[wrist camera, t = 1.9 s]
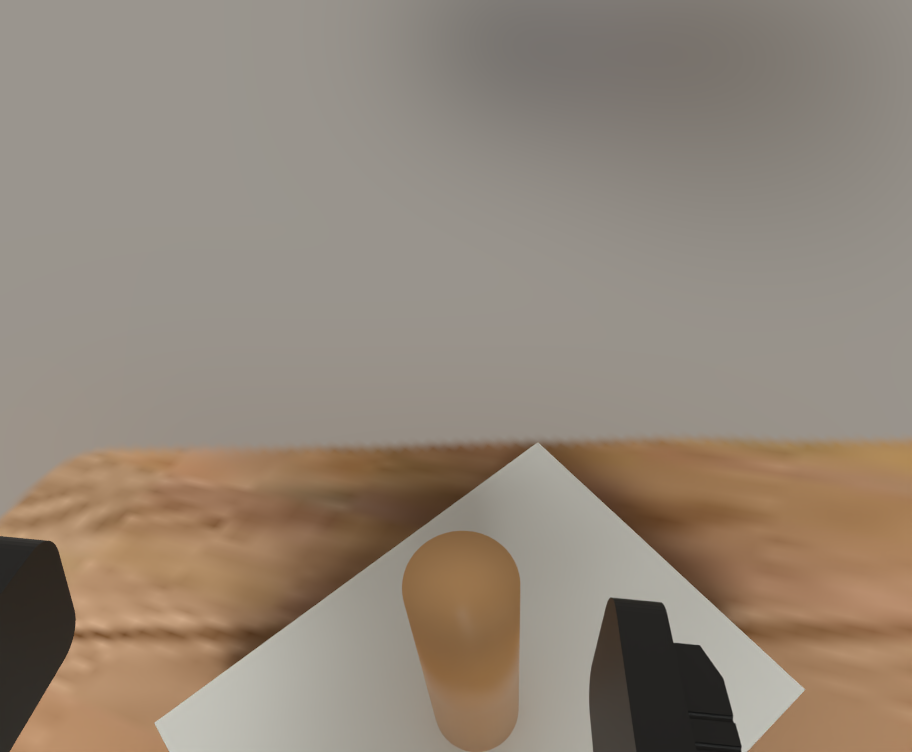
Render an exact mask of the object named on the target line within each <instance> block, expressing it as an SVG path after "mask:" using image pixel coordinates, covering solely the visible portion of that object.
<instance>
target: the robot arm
mask: <svg viewBox="0 0 912 752" xmlns="http://www.w3.org/2000/svg"><path fill="white" fill-rule="evenodd" d="M75 620H76V619H75V611H74V607H73V603H72V599H71V596H70V592H69V588H68V585H67V581H66V577H65V574H64V570H63V566H62V563H61V559H60V555H59V552H58V549H57V547H56V545H55V544H54V543H53V542H51V541H44V540H34V539H23V538H13V537H3V536H0V752H10V750H11V748H12V747H13V745H14V743H15V741H16V740H17V738H18V736H19V735H20V733H21V731H22V730H23V728H24V726H25V725H26V723H27V721H28V720H29V718H30V716H31V715H32V713H33V711H34V709H35V708H36V706H37V704H38V703H39V701H40V699H41V698H42V696H43V694H44V693H45V691H46V689H47V688H48V686H49V684H50V683H51V681H52V679H53V678H54V676H55V674H56V672H57V671H58V669H59V667H60V666H61V664H62V662H63V661H64V659H65V657H66V655H67V653H68V651H69V649H70V646H71V643H72V640H73V636H74V631H75ZM589 711H590V722H591V733H592V744H593V752H741V747H742V745H741V742H740V738H739V734H738V730H737V727H736V723H734V722H733V712H732V708H731V705H730V701H729V697H728V693H727V690H726V686H725V682H724V679H723V677H722V676H721V674H720V673H719V671H718V670H717V669H716V667H715V666H714V664H713V663H712V662H711V660H710V659H709V657H708V656H707V655H706V653H705V652H704V650H703V649H702V647H701V646H700V645H693V644H683V643H673V638H672V634H671V629H670V624H669V620H668V615H667V611H666V608H665V606H664V604H663V603H662V602H653V601H643V600H632V599H622V598H612V597H610V598H609V600H608V602H607V605H606V608H605V612H604V617H603V621H602V625H601V629H600V633H599V637H598V641H597V645H596V649H595V653H594V658H593V662H592V666H591V672H590V683H589Z"/></svg>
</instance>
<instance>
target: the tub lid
mask: <svg viewBox="0 0 912 752" xmlns="http://www.w3.org/2000/svg"><path fill="white" fill-rule="evenodd" d="M610 597H612V598H622V599H632V600H643V601H653V602H662V603H663V604H664V606H665V608H666V611H667V615H668V620H669V624H670V629H671V634H672V638H673V643H683V644H693V645H700V646H701V647H702V649H703V650H704V652H705V653H706V655H707V656H708V657H709V659H710V660H711V662H712V663H713V664H714V666H715V667H716V669H717V670H718V671H719V673H720V674H721V676H722V677H723V679H724V682H725V686H726V690H727V693H728V697H729V701H730V705H731V708H732V712H733V722H734V723H736V727H737V730H738V734H739V738H740V742H741V745H742V747H741V752H747V751H748V750H749V749H750V748H751V747H752V746H753V745H754V744H755V743H756V742H757V741H758V739H759V738H760V737H761V736H762V735H763V734H764V733H765V732H766V731H767V730H768V729H769V728H770V727H771V726H772V725H773V724H774V722H775V721H776V720H777V719H778V718H779V717H780V716H781V715H782V714H783V713H784V712H785V711H786V710H787V709H788V708H789V707H790V705H791V704H792V703H793V702H794V701H795V700H796V699H797V698H798V697H799V696H800V695H801V694H802V693H803V691H804V690H805V689H804V688H803V687H802V686H801V685H799V684H798V683H797V682H796V681H795V680H794V679H793V678H792V677H791V676H790V675H789V674H788V673H786V672H785V671H784V670H783V669H782V668H781V667H780V666H779V665H778V664H777V663H776V662H775V661H774V660H772V659H771V658H770V657H769V656H768V655H767V654H766V653H765V652H764V651H763V650H762V649H761V648H759V647H758V646H757V645H756V644H755V643H754V642H753V641H752V640H751V639H750V638H749V637H748V636H747V635H745V634H744V633H743V632H742V631H741V630H740V629H739V628H738V627H737V626H736V625H735V624H734V623H732V622H731V621H730V620H729V619H728V618H727V617H726V616H725V615H724V614H723V613H722V612H721V611H720V610H718V609H717V608H716V607H715V606H714V605H713V604H712V603H711V602H710V601H709V600H708V599H707V598H706V597H704V596H703V595H702V594H701V593H700V592H699V591H698V590H697V589H696V588H695V587H694V586H693V585H691V584H690V583H689V582H688V581H687V580H686V579H685V578H684V577H683V576H682V575H681V574H680V573H679V572H677V571H676V570H675V569H674V568H673V567H672V566H671V565H670V564H669V563H668V562H667V561H666V560H664V559H663V558H662V557H661V556H660V555H659V554H658V553H657V552H656V551H655V550H654V549H653V548H652V547H650V546H649V545H648V544H647V543H646V542H645V541H644V540H643V539H642V538H641V537H640V536H639V535H637V534H636V533H635V532H634V531H633V530H632V529H631V528H630V527H629V526H628V525H627V524H626V523H625V522H623V521H622V520H621V519H620V518H619V517H618V516H617V515H616V514H615V513H614V512H613V511H612V510H611V509H609V508H608V507H607V506H606V505H605V504H604V503H603V502H602V501H601V500H600V499H599V498H598V497H596V496H595V495H594V494H593V493H592V492H591V491H590V490H589V489H588V488H587V487H586V486H585V485H584V484H582V483H581V482H580V481H579V480H578V479H577V478H576V477H575V476H574V475H573V474H572V473H571V472H569V471H568V470H567V469H566V468H565V467H564V466H563V465H562V464H561V463H560V462H559V461H558V460H557V459H555V458H554V457H553V456H552V455H551V454H550V453H549V452H548V451H547V450H546V449H545V448H544V447H542V446H541V445H540V444H539V443H538V442H537V443H536V444H535V445H533V446H532V447H531V448H529V449H528V450H526V451H525V452H524V453H522V454H521V455H520V456H518V457H517V458H516V459H514V460H513V461H511V462H510V463H509V464H507V465H506V466H505V467H503V468H502V469H501V470H499V471H498V472H496V473H495V474H494V475H492V476H491V477H490V478H488V479H487V480H486V481H484V482H483V483H481V484H480V485H479V486H477V487H476V488H475V489H473V490H472V491H470V492H469V493H468V494H466V495H465V496H464V497H462V498H461V499H460V500H458V501H457V502H455V503H454V504H453V505H451V506H450V507H449V508H447V509H446V510H445V511H443V512H442V513H440V514H439V515H438V516H436V517H435V518H434V519H432V520H431V521H430V522H428V523H427V524H425V525H424V526H423V527H421V528H420V529H419V530H417V531H416V532H414V533H413V534H412V535H410V536H409V537H408V538H406V539H405V540H404V541H402V542H401V543H399V544H398V545H397V546H395V547H394V548H393V549H391V550H390V551H389V552H387V553H386V554H384V555H383V556H382V557H380V558H379V559H378V560H376V561H375V562H373V563H372V564H371V565H369V566H368V567H367V568H365V569H364V570H363V571H361V572H360V573H358V574H357V575H356V576H354V577H353V578H352V579H350V580H349V581H348V582H346V583H345V584H343V585H342V586H341V587H339V588H338V589H337V590H335V591H334V592H333V593H331V594H330V595H328V596H327V597H326V598H324V599H323V600H322V601H320V602H319V603H317V604H316V605H315V606H313V607H312V608H311V609H309V610H308V611H307V612H305V613H304V614H302V615H301V616H300V617H298V618H297V619H296V620H294V621H293V622H292V623H290V624H289V625H287V626H286V627H285V628H283V629H282V630H281V631H279V632H278V633H277V634H275V635H274V636H272V637H271V638H270V639H268V640H267V641H266V642H264V643H263V644H261V645H260V646H259V647H257V648H256V649H255V650H253V651H252V652H251V653H249V654H248V655H246V656H245V657H244V658H242V659H241V660H240V661H238V662H237V663H236V664H234V665H233V666H231V667H230V668H229V669H227V670H226V671H225V672H223V673H222V674H221V675H219V676H218V677H216V678H215V679H214V680H212V681H211V682H210V683H208V684H207V685H205V686H204V687H203V688H201V689H200V690H199V691H197V692H196V693H195V694H193V695H192V696H190V697H189V698H188V699H186V700H185V701H184V702H182V703H181V704H180V705H178V706H177V707H175V708H174V709H173V710H171V711H170V712H169V713H167V714H166V715H165V716H163V717H162V718H160V719H159V720H158V721H156V722H155V725H156V727H157V729H158V731H159V733H160V735H161V737H162V739H163V741H164V743H165V744H166V746H167V748H168V750H169V752H593V744H592V733H591V722H590V711H589V683H590V672H591V666H592V662H593V658H594V653H595V649H596V645H597V641H598V637H599V633H600V629H601V625H602V621H603V617H604V612H605V608H606V605H607V602H608V600H609V598H610Z"/></svg>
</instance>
